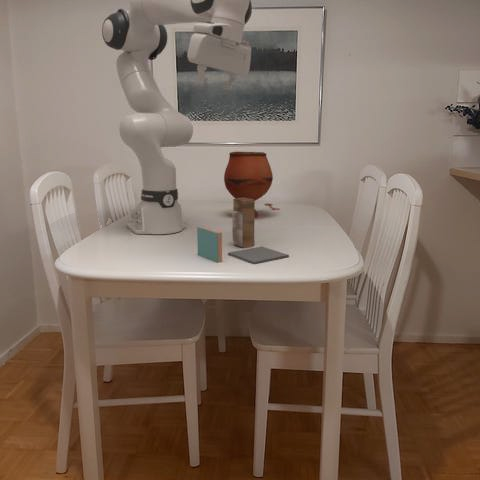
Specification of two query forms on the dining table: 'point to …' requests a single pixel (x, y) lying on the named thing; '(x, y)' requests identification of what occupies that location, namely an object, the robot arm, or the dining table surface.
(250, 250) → the rest mat
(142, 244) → the dining table surface
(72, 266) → the dining table surface
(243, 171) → the goblet
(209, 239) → the tile
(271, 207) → the key
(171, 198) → the robot arm
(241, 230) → the tall wooden block
